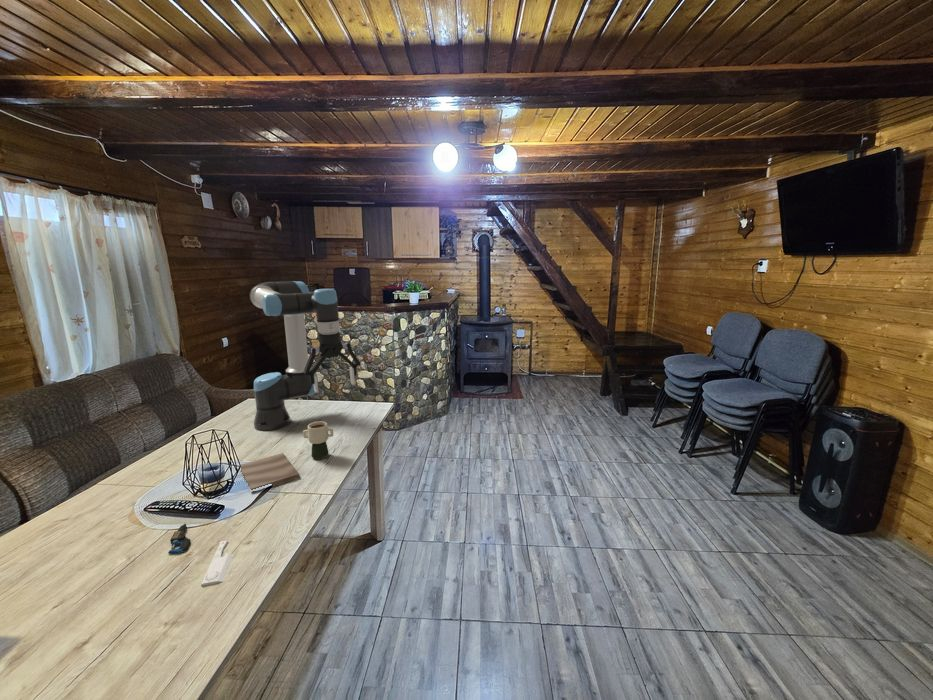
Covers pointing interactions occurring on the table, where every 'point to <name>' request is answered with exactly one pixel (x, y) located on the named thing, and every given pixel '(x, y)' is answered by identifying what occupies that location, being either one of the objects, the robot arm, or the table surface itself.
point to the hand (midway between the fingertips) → (335, 387)
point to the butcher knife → (218, 566)
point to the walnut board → (268, 471)
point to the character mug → (318, 438)
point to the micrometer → (180, 540)
